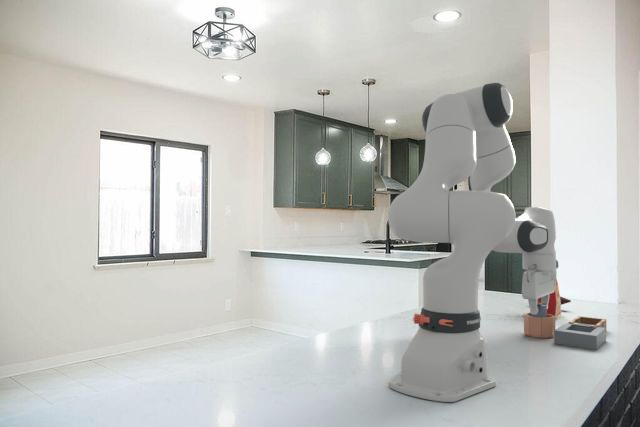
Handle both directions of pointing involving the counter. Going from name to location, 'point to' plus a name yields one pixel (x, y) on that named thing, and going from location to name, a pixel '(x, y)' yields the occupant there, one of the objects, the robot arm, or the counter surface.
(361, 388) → the counter surface
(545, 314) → the cell
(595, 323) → the trough
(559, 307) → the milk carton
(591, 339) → the grey rectangular frame box
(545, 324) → the cup
